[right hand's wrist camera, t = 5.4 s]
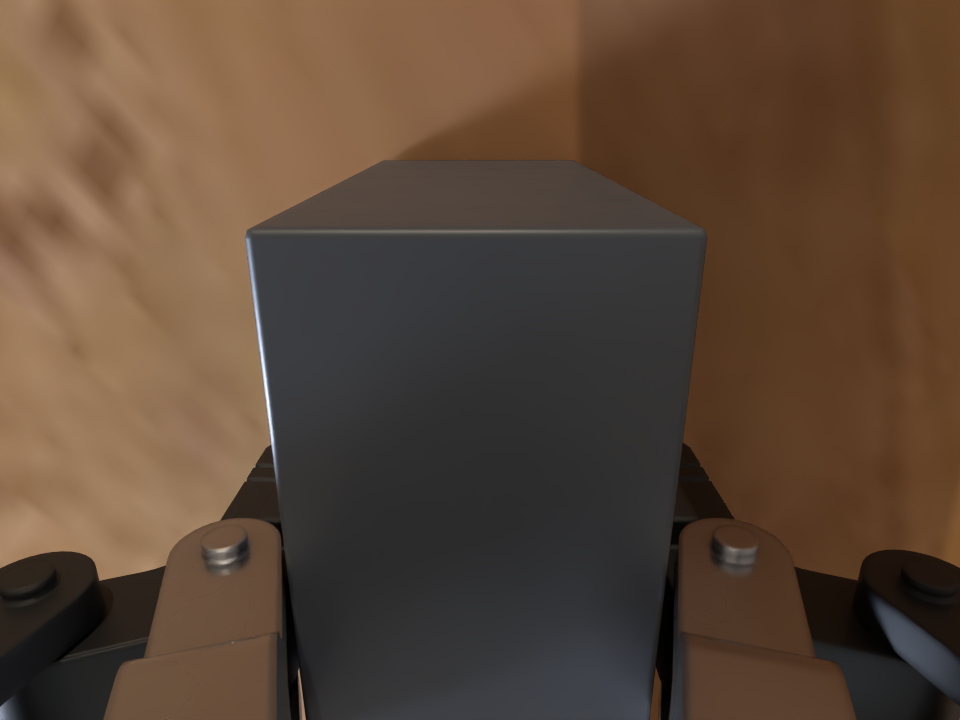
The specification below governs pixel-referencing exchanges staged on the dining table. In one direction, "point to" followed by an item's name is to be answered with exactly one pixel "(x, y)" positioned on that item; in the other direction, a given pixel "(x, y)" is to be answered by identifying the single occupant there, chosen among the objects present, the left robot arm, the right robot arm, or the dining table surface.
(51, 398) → the dining table surface
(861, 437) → the dining table surface
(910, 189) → the dining table surface
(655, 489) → the post
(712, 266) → the dining table surface
